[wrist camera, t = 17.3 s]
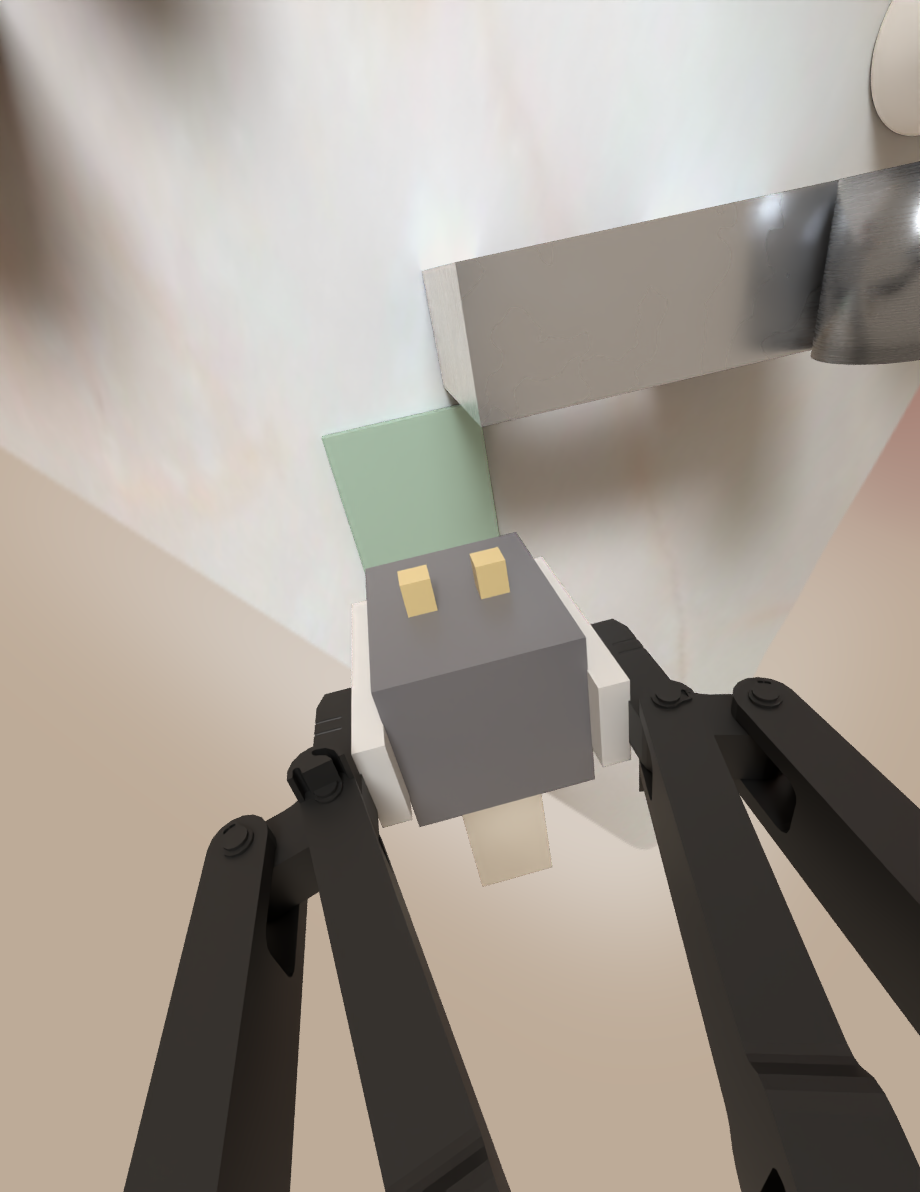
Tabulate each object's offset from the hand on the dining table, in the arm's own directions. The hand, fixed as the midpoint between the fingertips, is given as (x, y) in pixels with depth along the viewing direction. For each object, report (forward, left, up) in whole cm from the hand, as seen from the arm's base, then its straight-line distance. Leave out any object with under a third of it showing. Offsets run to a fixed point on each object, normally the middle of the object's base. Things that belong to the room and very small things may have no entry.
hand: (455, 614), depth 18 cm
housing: (-8, +11, -13) cm, 18 cm away
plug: (+4, 0, 0) cm, 4 cm away
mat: (+1, 0, -13) cm, 13 cm away
